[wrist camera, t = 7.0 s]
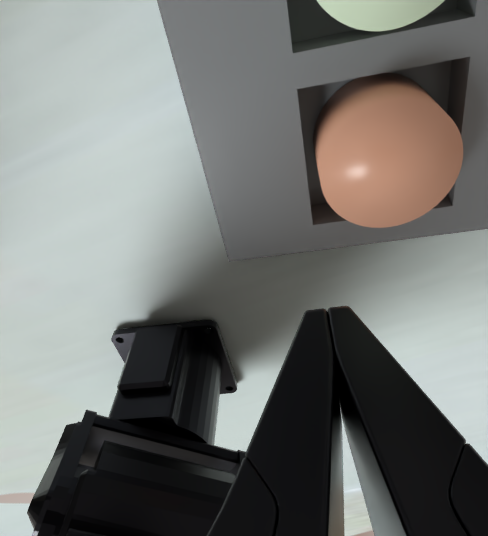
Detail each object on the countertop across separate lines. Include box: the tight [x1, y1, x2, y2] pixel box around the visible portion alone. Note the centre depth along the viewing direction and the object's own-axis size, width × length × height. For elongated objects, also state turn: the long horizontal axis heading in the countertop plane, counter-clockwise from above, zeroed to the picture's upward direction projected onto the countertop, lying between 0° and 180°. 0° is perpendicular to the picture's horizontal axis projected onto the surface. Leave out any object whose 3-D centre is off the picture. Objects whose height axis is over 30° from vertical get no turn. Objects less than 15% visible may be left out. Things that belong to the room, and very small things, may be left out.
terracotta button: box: [313, 73, 463, 228], centre depth 15 cm, size 5×5×3 cm
